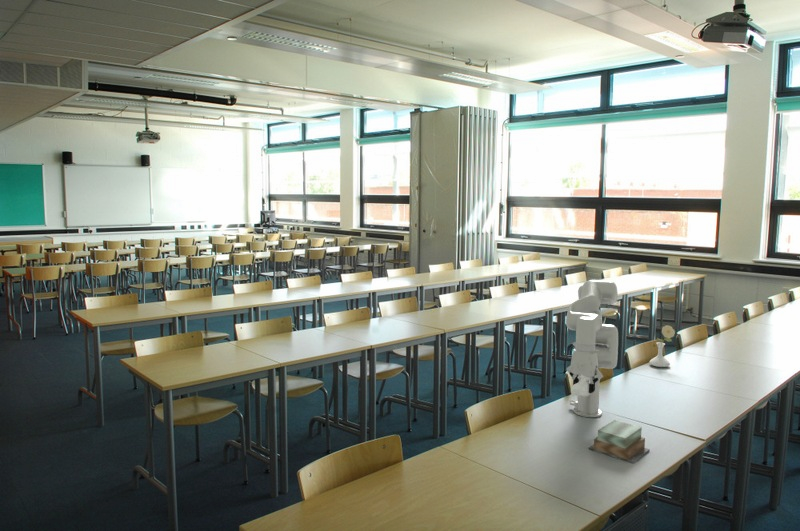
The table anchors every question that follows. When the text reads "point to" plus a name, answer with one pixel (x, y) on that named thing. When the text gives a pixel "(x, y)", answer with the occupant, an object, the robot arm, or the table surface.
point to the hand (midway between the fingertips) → (583, 390)
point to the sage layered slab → (620, 441)
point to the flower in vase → (659, 359)
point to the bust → (581, 387)
